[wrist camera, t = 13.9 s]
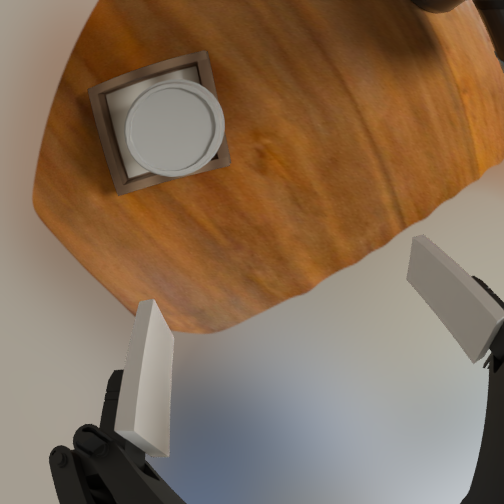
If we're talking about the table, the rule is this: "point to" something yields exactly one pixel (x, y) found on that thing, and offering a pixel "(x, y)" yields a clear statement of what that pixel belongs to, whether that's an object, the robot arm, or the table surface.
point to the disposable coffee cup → (174, 127)
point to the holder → (120, 100)
